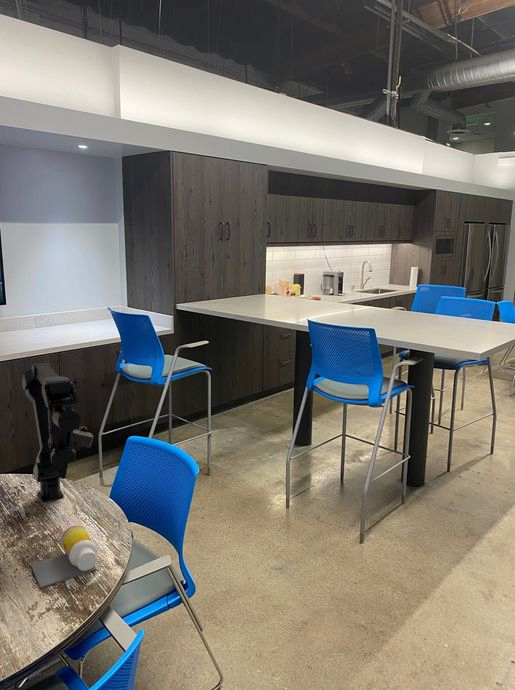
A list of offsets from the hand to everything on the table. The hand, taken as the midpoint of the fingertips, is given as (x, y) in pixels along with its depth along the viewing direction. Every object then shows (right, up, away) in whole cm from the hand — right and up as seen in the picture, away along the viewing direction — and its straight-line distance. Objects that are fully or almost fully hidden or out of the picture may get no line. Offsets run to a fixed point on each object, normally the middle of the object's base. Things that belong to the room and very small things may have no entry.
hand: (63, 478), depth 148 cm
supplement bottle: (+7, -12, -11) cm, 18 cm away
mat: (+7, -17, -19) cm, 26 cm away
